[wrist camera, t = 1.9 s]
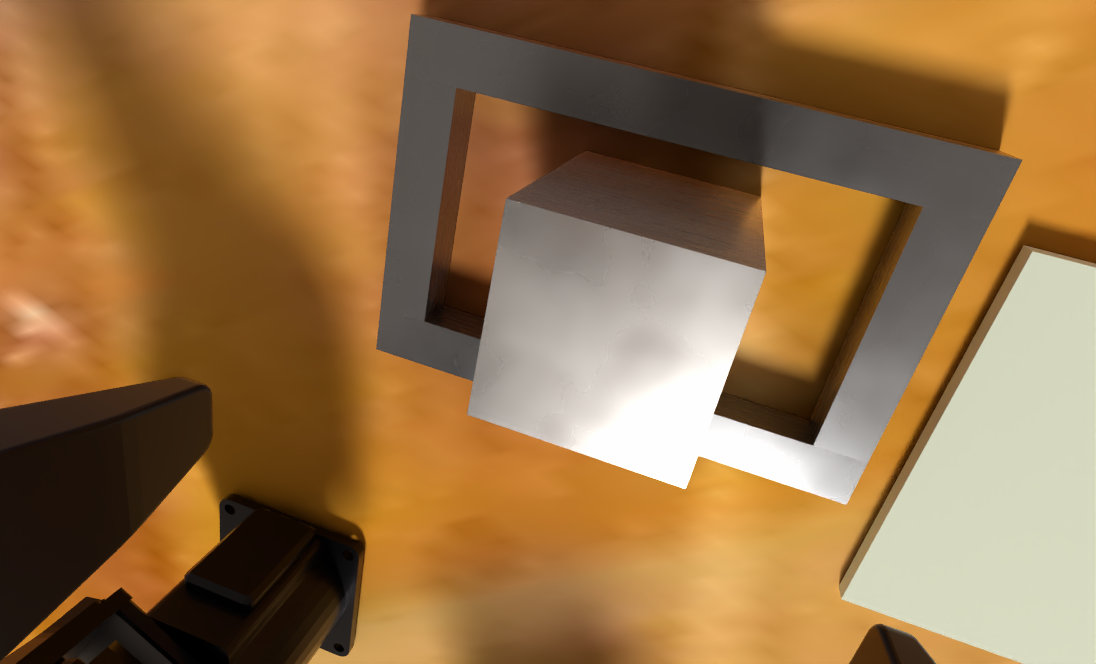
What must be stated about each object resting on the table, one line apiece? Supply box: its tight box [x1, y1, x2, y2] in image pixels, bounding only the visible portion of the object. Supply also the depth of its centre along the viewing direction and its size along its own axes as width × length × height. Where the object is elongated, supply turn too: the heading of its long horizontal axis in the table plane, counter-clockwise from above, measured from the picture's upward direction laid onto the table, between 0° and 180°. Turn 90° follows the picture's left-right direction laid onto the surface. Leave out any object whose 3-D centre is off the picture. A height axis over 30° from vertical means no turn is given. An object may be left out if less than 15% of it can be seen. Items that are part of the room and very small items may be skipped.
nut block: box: [467, 151, 766, 489], centre depth 17 cm, size 5×5×7 cm
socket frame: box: [376, 14, 1022, 504], centre depth 19 cm, size 10×15×2 cm, turn 78°
